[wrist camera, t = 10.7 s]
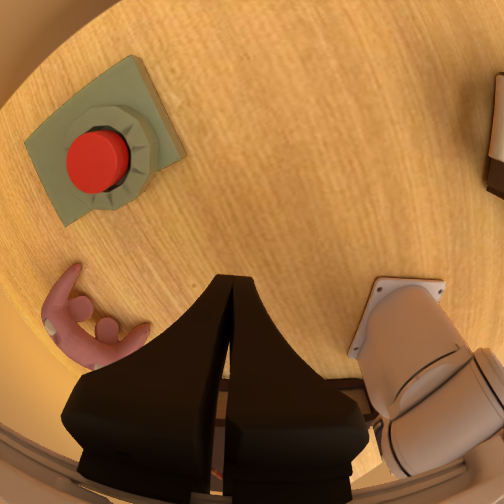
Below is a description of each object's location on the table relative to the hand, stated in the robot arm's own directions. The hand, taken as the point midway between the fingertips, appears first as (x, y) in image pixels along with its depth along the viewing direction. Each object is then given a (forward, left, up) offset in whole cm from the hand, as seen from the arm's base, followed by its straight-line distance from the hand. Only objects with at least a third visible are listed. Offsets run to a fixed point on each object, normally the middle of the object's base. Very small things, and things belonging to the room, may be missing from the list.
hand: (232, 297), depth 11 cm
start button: (+4, +9, -7) cm, 12 cm away
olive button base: (+4, +11, -10) cm, 16 cm away
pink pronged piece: (-11, +13, -11) cm, 20 cm away
